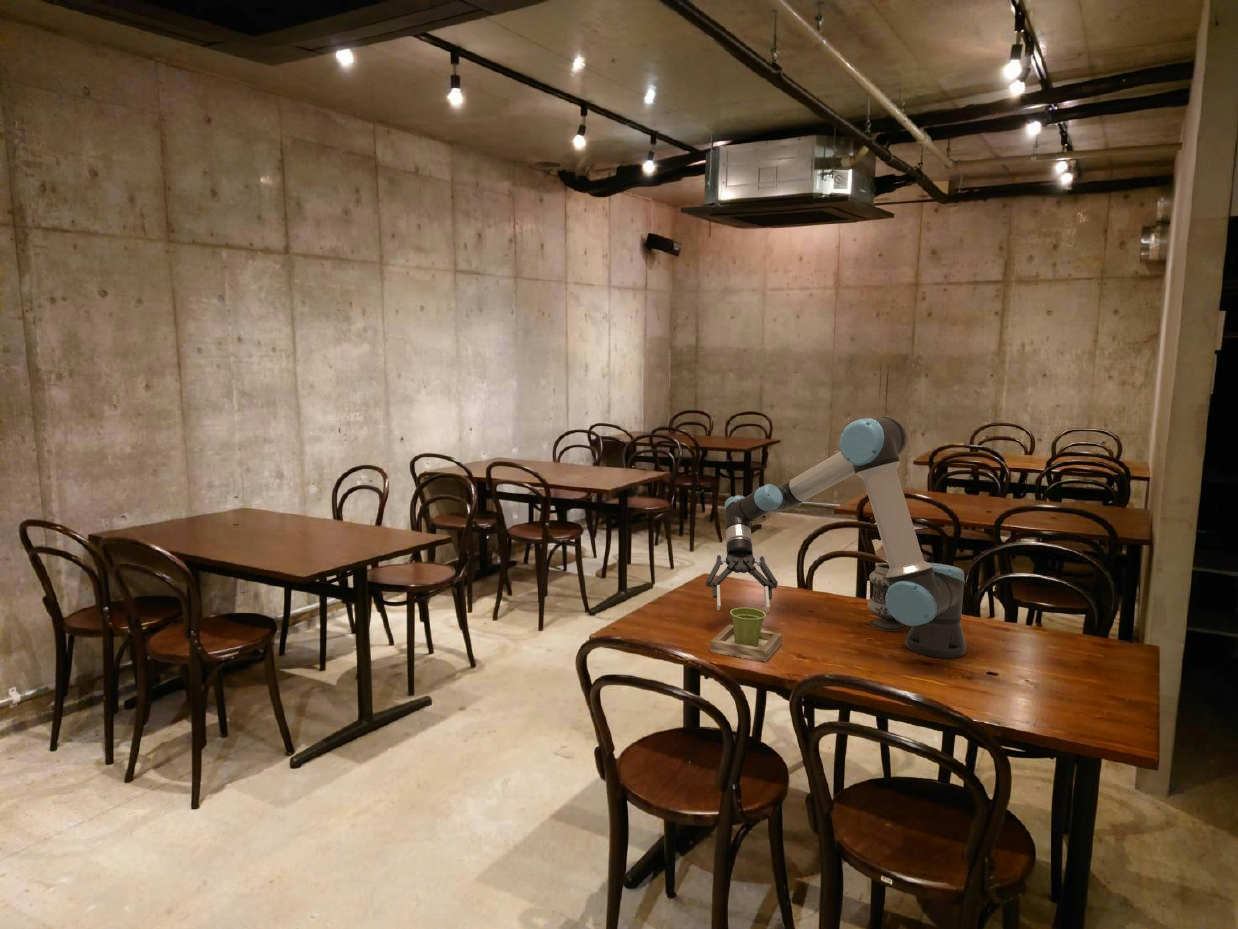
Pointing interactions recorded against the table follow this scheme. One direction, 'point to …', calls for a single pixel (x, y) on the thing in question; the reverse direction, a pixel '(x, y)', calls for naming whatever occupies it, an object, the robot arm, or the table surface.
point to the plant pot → (747, 625)
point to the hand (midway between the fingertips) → (743, 608)
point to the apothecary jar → (882, 601)
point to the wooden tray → (762, 652)
